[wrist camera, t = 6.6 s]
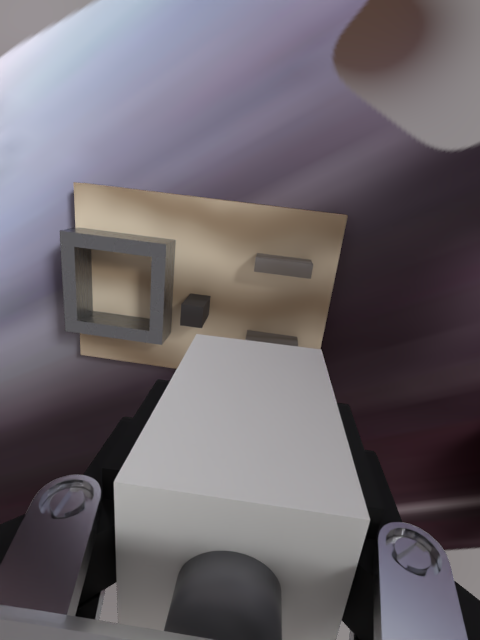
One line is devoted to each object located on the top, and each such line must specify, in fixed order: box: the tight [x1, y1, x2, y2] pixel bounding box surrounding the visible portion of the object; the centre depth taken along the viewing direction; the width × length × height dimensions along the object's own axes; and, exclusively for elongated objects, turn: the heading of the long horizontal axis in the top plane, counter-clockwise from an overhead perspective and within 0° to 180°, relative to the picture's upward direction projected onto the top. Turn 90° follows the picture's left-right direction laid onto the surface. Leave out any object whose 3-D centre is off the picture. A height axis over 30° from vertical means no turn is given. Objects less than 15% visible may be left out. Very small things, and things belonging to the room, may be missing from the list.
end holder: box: [60, 227, 176, 345], centre depth 28 cm, size 8×8×2 cm
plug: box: [114, 334, 370, 640], centre depth 10 cm, size 4×4×8 cm
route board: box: [74, 183, 348, 369], centre depth 28 cm, size 14×20×4 cm
